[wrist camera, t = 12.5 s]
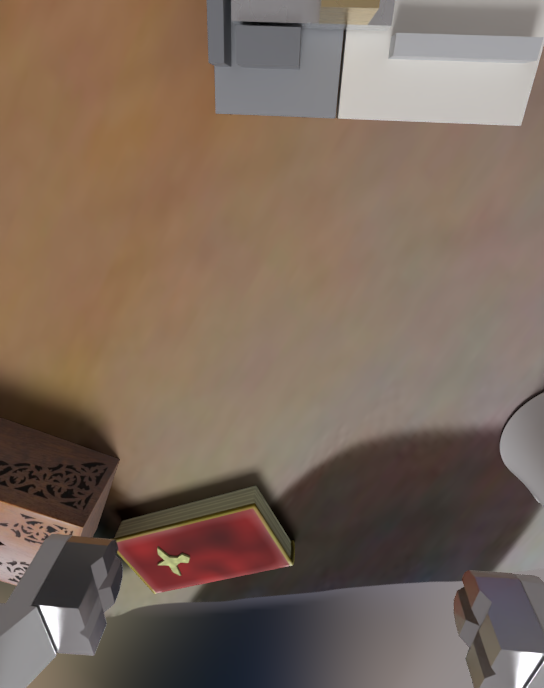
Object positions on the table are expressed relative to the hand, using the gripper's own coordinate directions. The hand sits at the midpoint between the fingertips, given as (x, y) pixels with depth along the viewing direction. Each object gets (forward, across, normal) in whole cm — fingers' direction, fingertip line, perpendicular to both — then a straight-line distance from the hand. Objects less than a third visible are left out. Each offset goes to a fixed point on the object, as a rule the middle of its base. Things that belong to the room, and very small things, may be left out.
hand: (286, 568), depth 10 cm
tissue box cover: (+32, +35, +31) cm, 56 cm away
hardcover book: (+32, +10, +41) cm, 53 cm away
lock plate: (+31, -4, -16) cm, 35 cm away
